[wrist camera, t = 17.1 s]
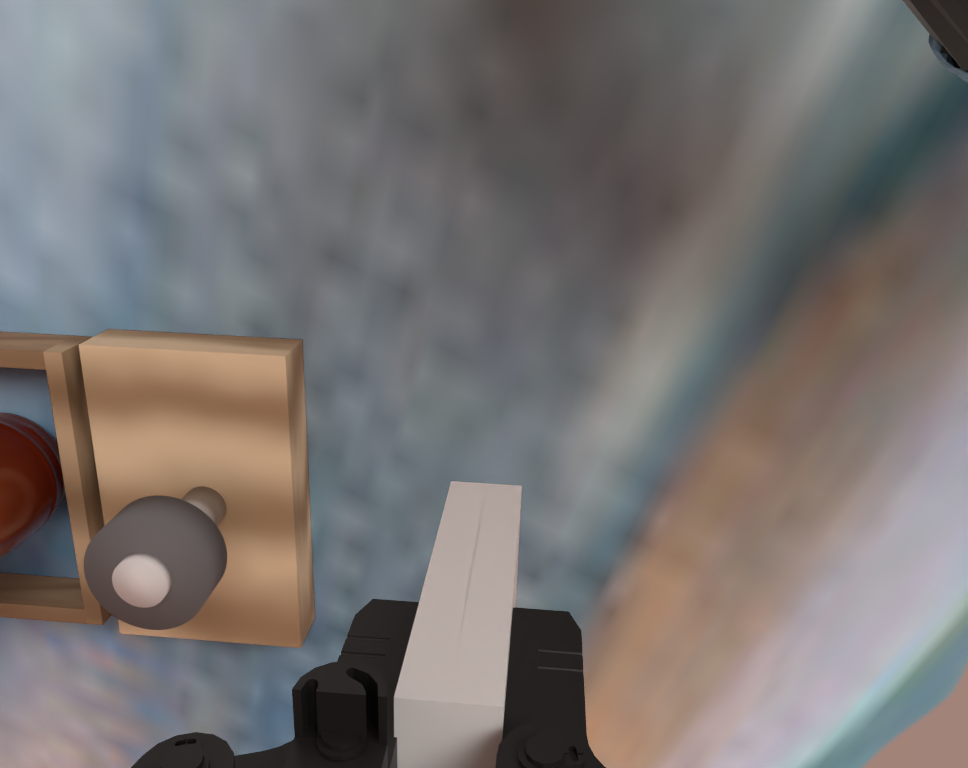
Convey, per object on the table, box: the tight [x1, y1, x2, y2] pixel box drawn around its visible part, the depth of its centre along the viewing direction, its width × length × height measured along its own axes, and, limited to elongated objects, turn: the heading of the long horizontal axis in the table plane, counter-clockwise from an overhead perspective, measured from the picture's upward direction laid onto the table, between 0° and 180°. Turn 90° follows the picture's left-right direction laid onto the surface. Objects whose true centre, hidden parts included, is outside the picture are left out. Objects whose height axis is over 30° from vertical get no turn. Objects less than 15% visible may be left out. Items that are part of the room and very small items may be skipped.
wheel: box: [83, 495, 227, 630], centre depth 39 cm, size 6×6×3 cm
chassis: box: [0, 329, 315, 648], centre depth 45 cm, size 18×22×6 cm
